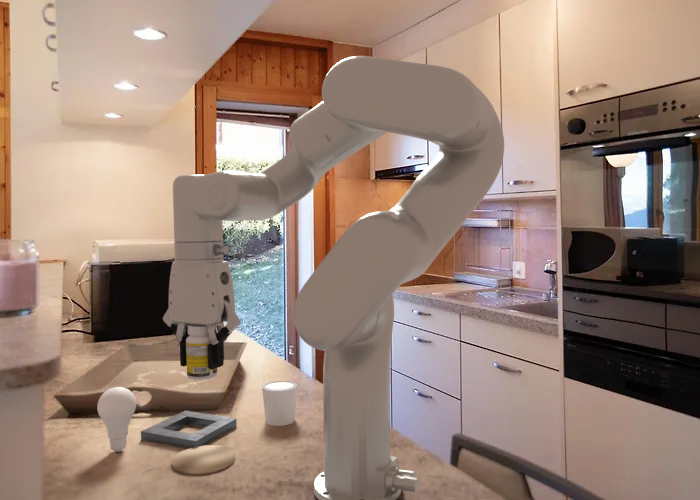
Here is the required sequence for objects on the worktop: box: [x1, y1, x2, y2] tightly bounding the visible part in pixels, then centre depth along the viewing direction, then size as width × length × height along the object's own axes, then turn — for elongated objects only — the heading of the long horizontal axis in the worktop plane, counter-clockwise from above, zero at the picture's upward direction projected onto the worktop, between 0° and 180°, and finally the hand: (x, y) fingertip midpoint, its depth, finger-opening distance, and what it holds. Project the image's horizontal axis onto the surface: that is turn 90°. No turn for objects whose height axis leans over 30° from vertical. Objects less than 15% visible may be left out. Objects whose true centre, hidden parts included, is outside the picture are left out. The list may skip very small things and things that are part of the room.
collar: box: [140, 410, 238, 450], centre depth 105 cm, size 12×12×2 cm
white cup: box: [261, 380, 298, 427], centre depth 112 cm, size 7×7×7 cm
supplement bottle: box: [186, 324, 218, 381], centre depth 92 cm, size 5×5×8 cm
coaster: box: [171, 444, 236, 475], centre depth 93 cm, size 10×10×1 cm
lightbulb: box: [96, 386, 137, 453], centre depth 97 cm, size 6×6×11 cm
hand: (202, 364), depth 92 cm, fingers closed on supplement bottle, 4 cm apart
